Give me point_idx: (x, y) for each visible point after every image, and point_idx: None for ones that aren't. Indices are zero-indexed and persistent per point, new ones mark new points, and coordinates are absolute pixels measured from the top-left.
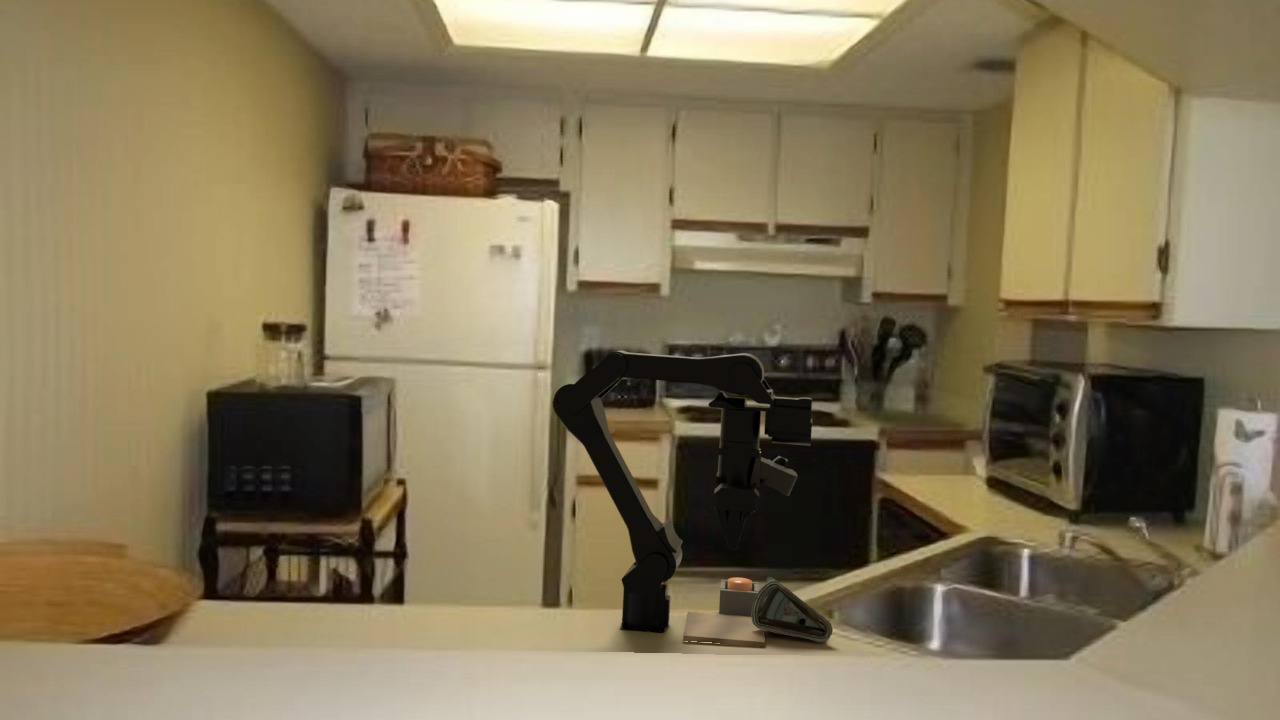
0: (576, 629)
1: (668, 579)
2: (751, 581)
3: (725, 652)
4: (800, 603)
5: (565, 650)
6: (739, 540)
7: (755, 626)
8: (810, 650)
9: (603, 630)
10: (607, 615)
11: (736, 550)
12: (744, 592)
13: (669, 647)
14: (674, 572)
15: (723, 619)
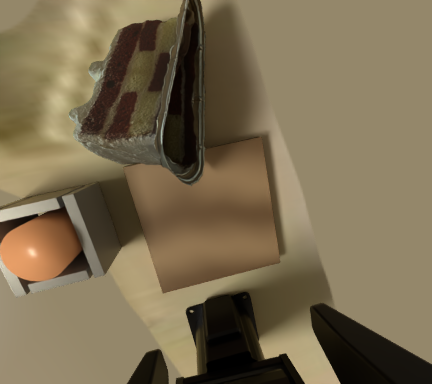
0: None
1: (280, 369)
2: (19, 228)
3: (293, 191)
4: (169, 64)
5: None
6: (375, 333)
7: None
8: (230, 54)
9: (269, 354)
10: None
11: (323, 303)
12: (86, 226)
13: (301, 265)
14: (287, 378)
15: (173, 231)
